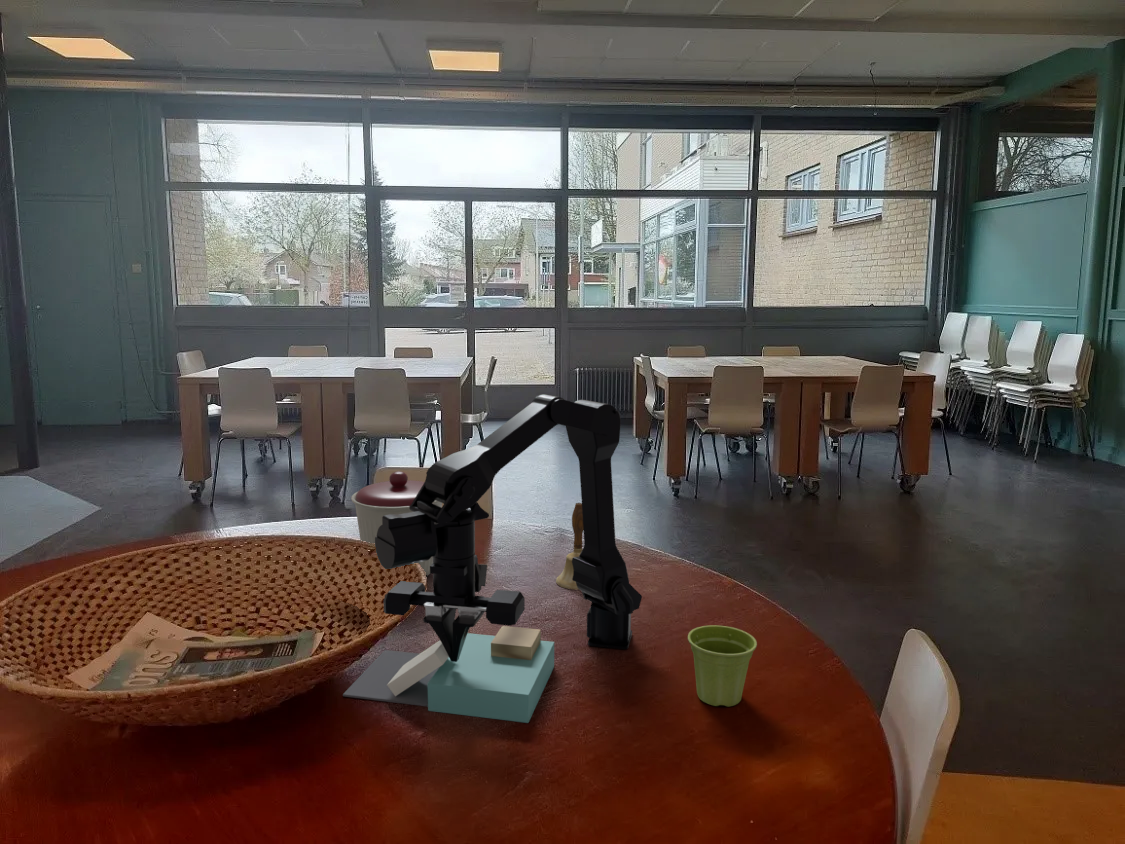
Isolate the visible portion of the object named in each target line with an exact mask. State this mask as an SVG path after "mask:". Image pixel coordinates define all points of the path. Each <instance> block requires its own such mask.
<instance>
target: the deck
mask: <svg viewBox="0 0 1125 844" xmlns="http://www.w3.org/2000/svg"><path fill="white" fill-rule="evenodd" d="M495 636H496V635H489V634H478V633H469V632H468V633H467V636H466V639H465V642H464V645H463V648H462V651H461V654H460V657H459V659H458V661H457V662H452V661H451V660H450V658H449V657H448V658H447V660H446V661H445V663H444V664H443V665H441V666H440V668H439V669H438V670H437V671H436V673H435V674H434V675H433V677H432V678H431V679H430V681H429V682H428V706H427V711H428V712H437V713H444V714H452V715H460V716H461V715H462V716H469V717H475V718H485V719H491V720H492V719H493V720H501V721H509V722H517V723H525V724H529V722H530V721H531V718H532V716H533V714H534V711H535V709H536V707H537V705H538V703H539V701H540V699H541V696H542V695H543V692H544V690H545V688H546V685H547V683H548V681H549V679H550V676H551V675H552V672H553V670H554V668H555V641H550V640H549V641H548V640H541V642H540V644H539V646H538V648H537V650H536V652H535V654H534V656H533V658H532V659H531V660H525V659H515V658H506V657H496V656H491V642H492V640H493V639H494V637H495Z"/></svg>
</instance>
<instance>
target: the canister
mask: <svg viewBox="0 0 1125 844" xmlns="http://www.w3.org/2000/svg"><path fill="white" fill-rule="evenodd" d="M424 482H425V481H421V480H411V479H410V480H409V479H408V475H407V473H405V472H404V471H398V470H397V471H394V472H392V473H391V474H390V475H389V478H388V481H381V482H376V483H372V484H369V485H366V486H364V487H362V488H361V489H359V490H358V491H356V492H354V493H353V494H352V495H351V497H350V498H351V502H352V503H353V504H354V506H355V512H356V514H355V515H356V520H357V526H358V533H359V534H358V535H359V539H360V540H359V541H361V540H362V541H366V542H370V543H375V537H377V531H378V528H379V527H380V526H381V525H382V517H383V516H384V515H390V514H395V515H398V514H404V513H410V512H413V511H411V510H410V509H409V507H410V505H411V504H412V502H413V500H414V499H415V497H416V496H417V494H418V492H419V491H420V489H421V487H422V486H423V484H424ZM432 504H434V505H437V506H439V507H441V508H442V507H443V503H441V502H439V501H436V500H435V501H434V502H433V503H432ZM419 564H420V565H421V567H422V568H423V569H424V571H425V572H426V575H427V576H426V577H428V576H429V575H430V574H431V573H430V565H432V564H433V557H431V558H430V559H429V560H427V561H423V562H419Z"/></svg>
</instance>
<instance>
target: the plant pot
mask: <svg viewBox="0 0 1125 844" xmlns="http://www.w3.org/2000/svg"><path fill="white" fill-rule="evenodd" d="M687 641H688V643H689V644H690V648H691V651H692V653H693V663H694V675H695V684H696V694H697V697H698V698H699V700H701V702H703V703H705V704H708V705H711V706H713V707H719V706H725V707H733V706H736V705H738V704H739V703H740V702H741V701H742V696H743V692H744V686H745V683H746V677H747V673H748V669H749V665H750V664H749V663H750V660H751V659H752V657H753V653H754V651H755V650H756V649H757V646H758V642H757V639H756V638H755V637H754V636H753V635H752V634H750V633H749V632H746V631H745V630H742V629H740V628H736V627H733V626H725V625H715V624H714V625H703V626H697V627H695V628H693V629H691V630H690V631H689V632H688V635H687Z"/></svg>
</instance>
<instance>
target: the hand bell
mask: <svg viewBox="0 0 1125 844" xmlns="http://www.w3.org/2000/svg"><path fill="white" fill-rule="evenodd" d="M571 526H572V527H571V528H572V531H573V535H574V536H573V550H572V552H570V553H568V554H567V555H566V557H565V558H566V559H565V563H564V567H563V570H562V572H561V573H560V574H559V575H558V576H557V578H556V579H555V583H556V584H557V585H558V586H559V587H561V588H564V589H566V590H572V591H573V590H577V591H581V590H580V589H578V587H577V585H576V582H575V581H573V580H572V578H573V571H574V570H573V565H572V558H573V557H579V555H580V553H581V551H582V550H583V548H584V545H583V535H584V530H583V514H582V502H576V503H575V504H574V508H573V511H572V514H571Z"/></svg>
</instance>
